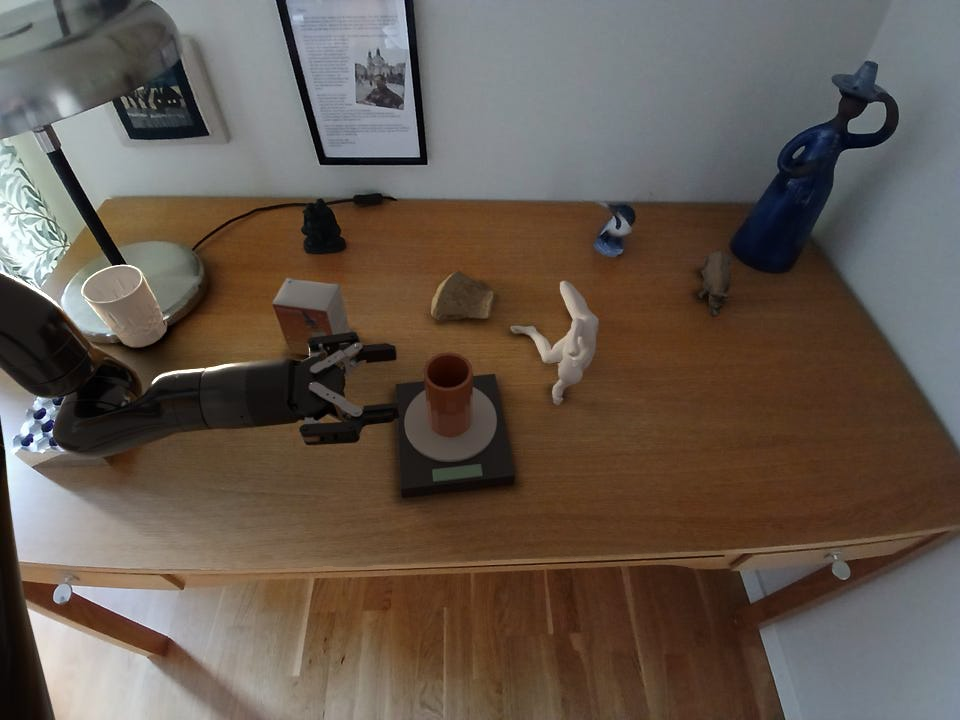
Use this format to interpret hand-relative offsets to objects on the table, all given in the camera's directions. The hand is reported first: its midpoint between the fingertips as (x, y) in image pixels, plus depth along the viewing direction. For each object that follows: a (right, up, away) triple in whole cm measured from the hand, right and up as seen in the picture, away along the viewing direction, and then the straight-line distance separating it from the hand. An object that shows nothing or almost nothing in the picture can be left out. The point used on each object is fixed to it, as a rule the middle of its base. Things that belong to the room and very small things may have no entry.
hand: (397, 380), depth 64 cm
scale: (+6, -8, +10) cm, 14 cm away
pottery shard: (+7, +12, +26) cm, 30 cm away
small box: (-15, +5, +20) cm, 25 cm away
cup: (+6, -5, +8) cm, 11 cm away
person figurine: (+23, +2, +19) cm, 29 cm away
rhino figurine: (+48, +12, +28) cm, 56 cm away
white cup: (-42, +7, +21) cm, 48 cm away
